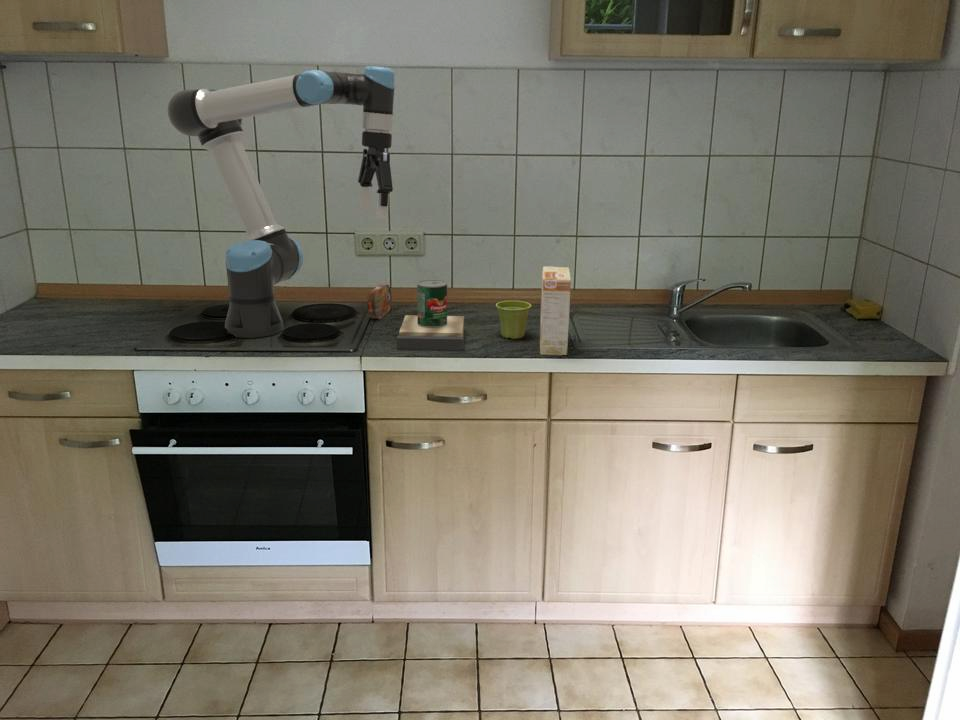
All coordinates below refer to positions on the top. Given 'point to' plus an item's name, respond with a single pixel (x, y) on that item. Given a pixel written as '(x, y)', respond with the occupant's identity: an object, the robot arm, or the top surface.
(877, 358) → the top surface
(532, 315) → the top surface
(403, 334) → the block
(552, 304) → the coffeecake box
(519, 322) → the plant pot
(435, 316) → the canned tomato
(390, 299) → the orange brown packet
